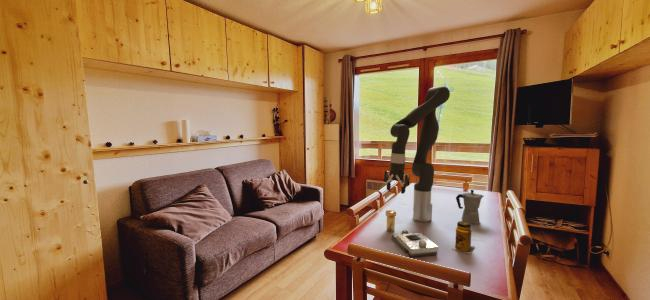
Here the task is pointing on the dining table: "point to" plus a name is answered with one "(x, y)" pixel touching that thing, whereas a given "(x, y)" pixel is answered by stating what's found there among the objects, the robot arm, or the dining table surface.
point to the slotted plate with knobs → (415, 243)
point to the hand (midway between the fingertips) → (395, 191)
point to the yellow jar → (463, 237)
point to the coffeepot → (470, 206)
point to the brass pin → (390, 220)
